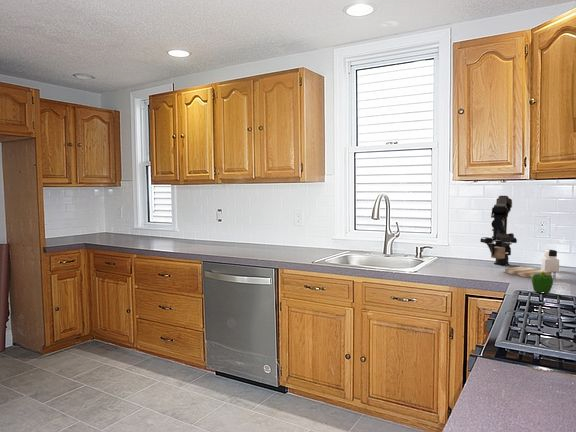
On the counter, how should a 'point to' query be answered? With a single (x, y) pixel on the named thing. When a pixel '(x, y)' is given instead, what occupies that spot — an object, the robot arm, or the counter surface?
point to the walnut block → (498, 253)
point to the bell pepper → (542, 282)
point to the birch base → (526, 271)
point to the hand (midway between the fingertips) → (497, 255)
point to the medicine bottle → (550, 261)
